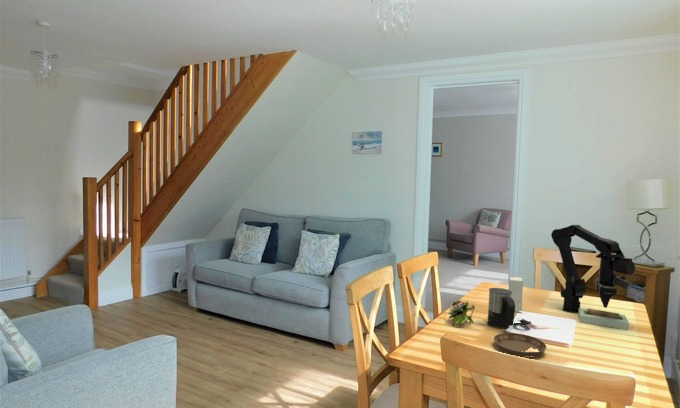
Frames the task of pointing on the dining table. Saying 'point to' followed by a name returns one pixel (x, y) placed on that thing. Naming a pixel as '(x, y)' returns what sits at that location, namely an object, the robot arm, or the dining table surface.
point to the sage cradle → (603, 320)
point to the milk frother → (502, 309)
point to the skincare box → (516, 291)
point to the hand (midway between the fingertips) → (604, 304)
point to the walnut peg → (602, 313)
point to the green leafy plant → (460, 313)
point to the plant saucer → (519, 344)
